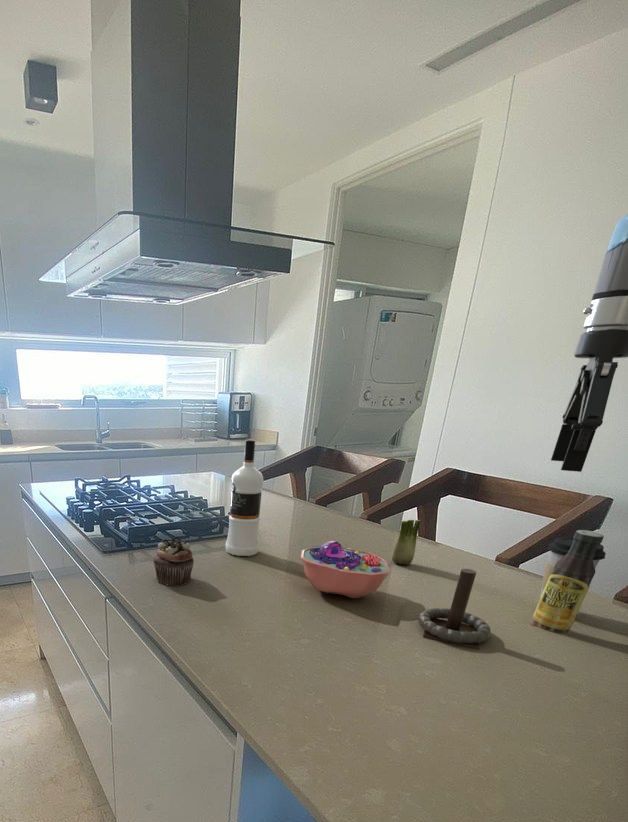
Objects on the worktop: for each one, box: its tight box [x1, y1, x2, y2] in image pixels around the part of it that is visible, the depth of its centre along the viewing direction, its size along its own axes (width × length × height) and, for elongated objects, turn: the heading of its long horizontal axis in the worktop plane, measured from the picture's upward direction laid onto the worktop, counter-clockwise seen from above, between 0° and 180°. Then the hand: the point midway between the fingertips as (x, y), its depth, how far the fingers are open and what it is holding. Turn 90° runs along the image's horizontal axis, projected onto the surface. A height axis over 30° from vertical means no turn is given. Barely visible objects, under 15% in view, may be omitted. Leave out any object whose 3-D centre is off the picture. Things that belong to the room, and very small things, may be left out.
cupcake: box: [152, 537, 195, 586], centre depth 114 cm, size 10×10×10 cm
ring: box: [417, 607, 492, 644], centre depth 91 cm, size 12×12×2 cm
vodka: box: [225, 439, 264, 557], centre depth 129 cm, size 9×9×30 cm
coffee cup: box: [538, 536, 607, 602], centre depth 101 cm, size 9×9×15 cm
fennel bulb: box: [391, 519, 422, 566], centre depth 127 cm, size 6×5×12 cm
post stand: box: [422, 568, 480, 651], centre depth 89 cm, size 9×9×14 cm
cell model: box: [300, 540, 392, 599], centre depth 108 cm, size 17×20×11 cm
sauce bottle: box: [530, 529, 605, 634], centre depth 91 cm, size 7×6×20 cm
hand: (564, 465), depth 87 cm, fingers open, 13 cm apart
